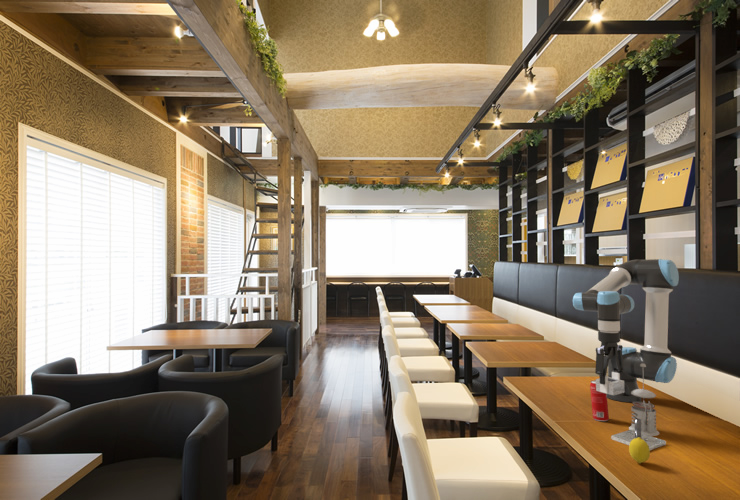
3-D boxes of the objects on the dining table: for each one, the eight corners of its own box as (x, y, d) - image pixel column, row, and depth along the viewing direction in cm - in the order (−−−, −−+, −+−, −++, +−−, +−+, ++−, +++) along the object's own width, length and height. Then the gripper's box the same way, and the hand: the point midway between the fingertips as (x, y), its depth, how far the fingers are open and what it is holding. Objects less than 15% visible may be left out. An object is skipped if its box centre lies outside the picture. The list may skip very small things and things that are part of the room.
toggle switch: (630, 432, 162) (630, 411, 163) (665, 444, 152) (665, 422, 152) (611, 438, 156) (611, 417, 157) (646, 451, 146) (646, 428, 146)
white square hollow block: (607, 387, 175) (606, 376, 175) (624, 392, 169) (624, 380, 169) (596, 390, 171) (595, 379, 171) (613, 395, 165) (613, 383, 165)
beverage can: (611, 422, 173) (610, 383, 174) (594, 421, 174) (593, 383, 174) (604, 417, 179) (604, 379, 180) (588, 416, 180) (587, 379, 180)
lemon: (625, 459, 140) (624, 434, 140) (641, 459, 140) (641, 433, 141) (637, 467, 134) (636, 441, 135) (654, 467, 135) (653, 440, 135)
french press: (655, 427, 168) (654, 361, 168) (664, 439, 157) (663, 368, 157) (626, 424, 171) (625, 359, 172) (633, 435, 160) (632, 366, 161)
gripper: (614, 327, 179) (616, 384, 178) (583, 332, 169) (584, 392, 168) (633, 330, 172) (634, 389, 172) (602, 335, 162) (603, 397, 162)
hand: (610, 390), depth 170 cm, fingers closed on white square hollow block, 7 cm apart
